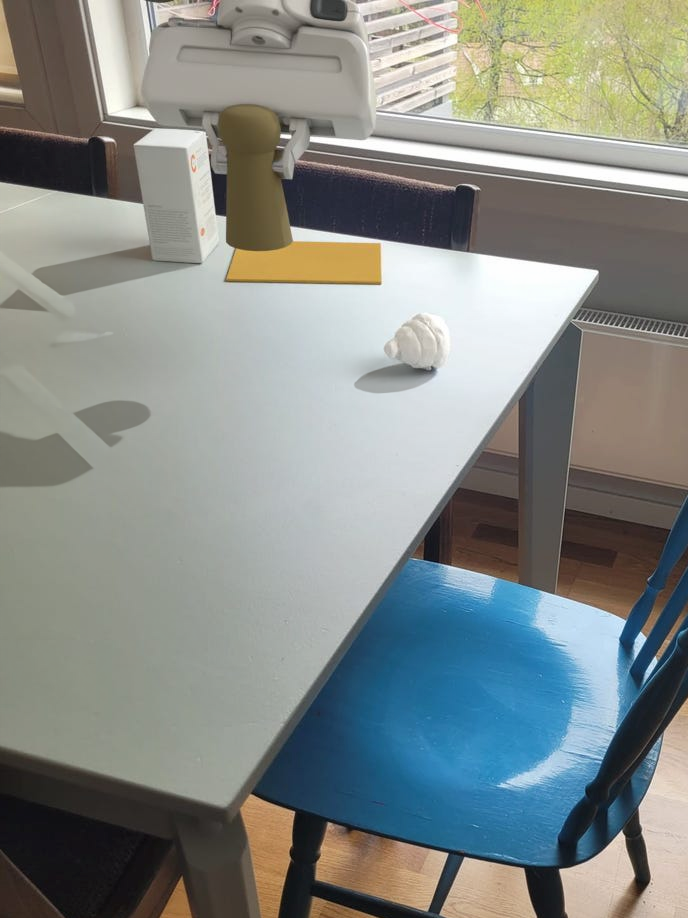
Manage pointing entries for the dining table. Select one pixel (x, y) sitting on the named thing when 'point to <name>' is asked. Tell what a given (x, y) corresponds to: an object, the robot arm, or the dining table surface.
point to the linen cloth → (310, 263)
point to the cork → (253, 179)
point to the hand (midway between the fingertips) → (252, 173)
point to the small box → (177, 194)
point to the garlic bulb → (421, 342)
